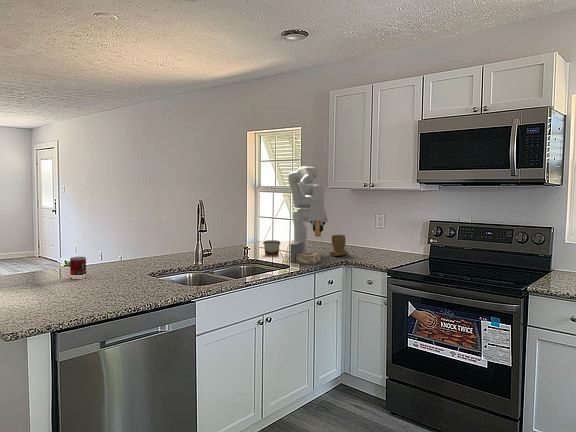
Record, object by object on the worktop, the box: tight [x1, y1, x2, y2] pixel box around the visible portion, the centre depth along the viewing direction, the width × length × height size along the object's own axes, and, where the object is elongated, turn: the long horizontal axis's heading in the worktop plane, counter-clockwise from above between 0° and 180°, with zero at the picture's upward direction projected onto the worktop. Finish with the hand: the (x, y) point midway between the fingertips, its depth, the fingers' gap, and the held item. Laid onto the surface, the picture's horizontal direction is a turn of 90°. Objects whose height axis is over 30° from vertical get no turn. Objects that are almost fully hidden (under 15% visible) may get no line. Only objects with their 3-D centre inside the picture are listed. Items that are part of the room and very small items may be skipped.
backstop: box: [289, 242, 303, 264], centre depth 291 cm, size 14×3×12 cm, turn 155°
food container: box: [262, 239, 281, 256], centre depth 318 cm, size 12×6×10 cm, turn 84°
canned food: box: [69, 256, 87, 275], centre depth 237 cm, size 8×8×11 cm
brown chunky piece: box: [329, 234, 350, 257], centre depth 316 cm, size 15×12×15 cm
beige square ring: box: [295, 252, 321, 265], centre depth 288 cm, size 12×12×5 cm
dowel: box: [314, 221, 322, 238], centre depth 293 cm, size 4×4×12 cm
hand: (318, 231), depth 293 cm, fingers closed on dowel, 4 cm apart
